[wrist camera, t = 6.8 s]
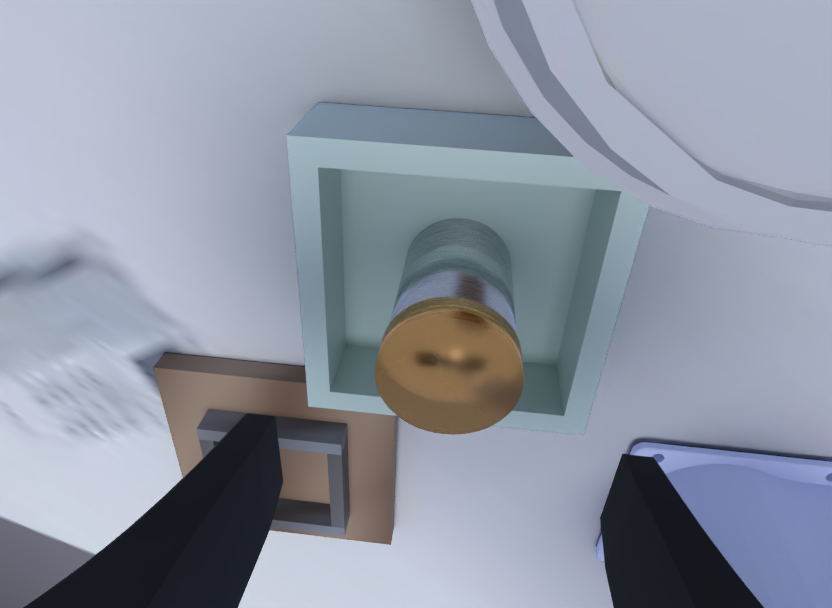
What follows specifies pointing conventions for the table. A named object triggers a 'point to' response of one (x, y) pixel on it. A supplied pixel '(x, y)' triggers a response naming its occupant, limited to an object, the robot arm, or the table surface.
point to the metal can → (452, 332)
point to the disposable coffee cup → (685, 101)
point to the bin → (444, 199)
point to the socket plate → (289, 442)
